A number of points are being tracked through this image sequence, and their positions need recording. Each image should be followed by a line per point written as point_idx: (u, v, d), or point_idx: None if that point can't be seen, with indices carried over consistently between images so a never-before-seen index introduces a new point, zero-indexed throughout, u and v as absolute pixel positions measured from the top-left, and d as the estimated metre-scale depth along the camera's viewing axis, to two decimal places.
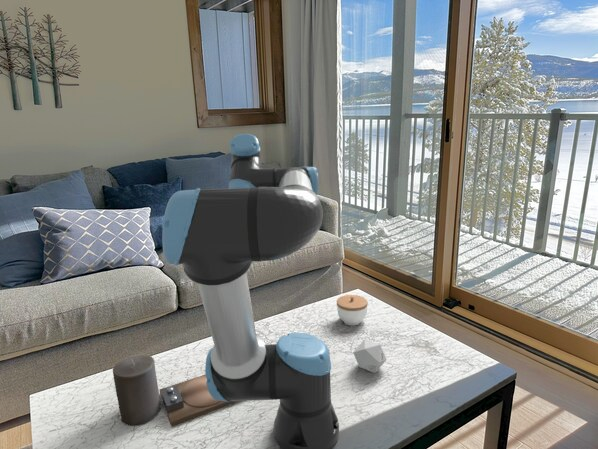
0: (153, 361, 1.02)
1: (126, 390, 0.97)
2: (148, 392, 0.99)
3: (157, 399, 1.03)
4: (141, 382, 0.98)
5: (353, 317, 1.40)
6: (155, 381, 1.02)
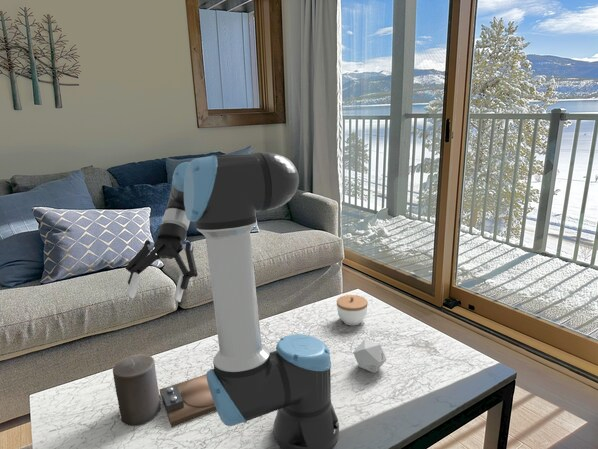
0: (153, 361, 1.02)
1: (126, 390, 0.97)
2: (148, 392, 0.99)
3: (157, 399, 1.03)
4: (141, 382, 0.98)
5: (353, 317, 1.40)
6: (155, 381, 1.02)
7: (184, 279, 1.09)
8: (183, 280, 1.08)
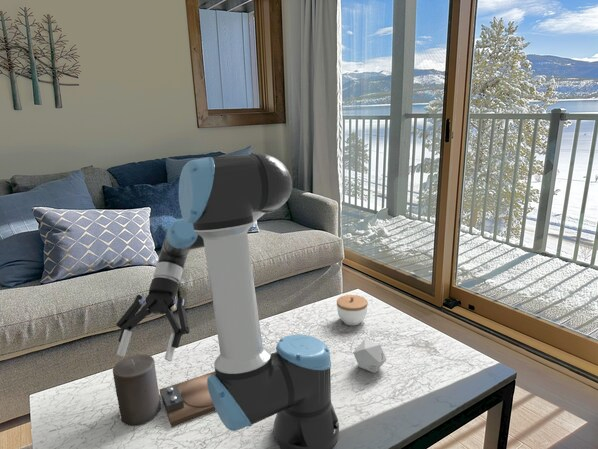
0: (153, 361, 1.02)
1: (126, 390, 0.97)
2: (148, 392, 0.99)
3: (157, 399, 1.03)
4: (141, 382, 0.98)
5: (353, 317, 1.40)
6: (155, 381, 1.02)
7: (175, 337, 1.07)
8: (175, 338, 1.07)
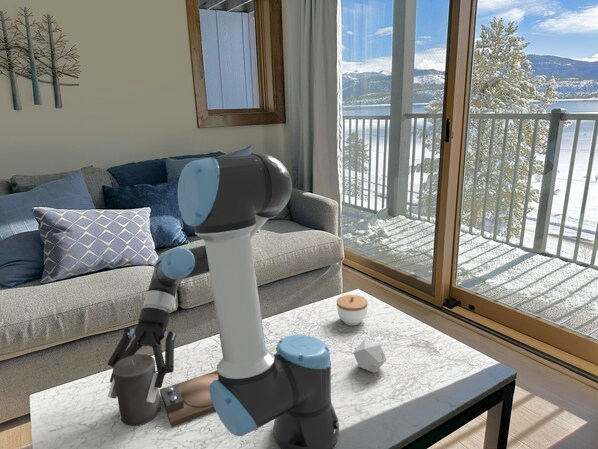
0: (153, 361, 1.02)
1: (126, 390, 0.97)
2: None
3: (157, 399, 1.03)
4: (141, 382, 0.98)
5: (353, 317, 1.40)
6: None
7: (158, 377, 1.01)
8: (157, 378, 1.01)
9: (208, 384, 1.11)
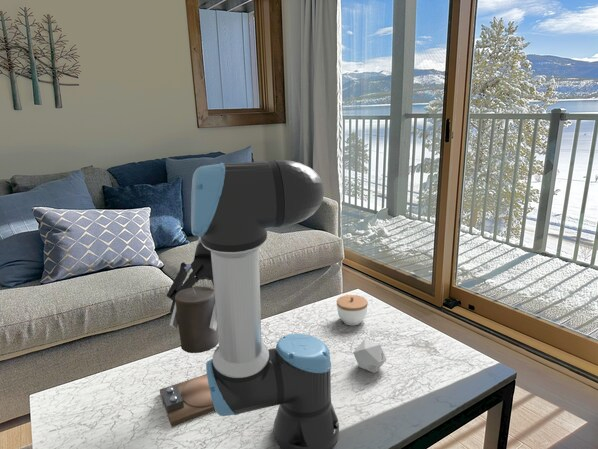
0: (213, 291, 1.03)
1: (190, 316, 0.98)
2: (210, 320, 1.00)
3: (217, 329, 1.04)
4: (204, 308, 0.99)
5: (353, 317, 1.40)
6: None
7: None
8: None
9: (208, 384, 1.11)
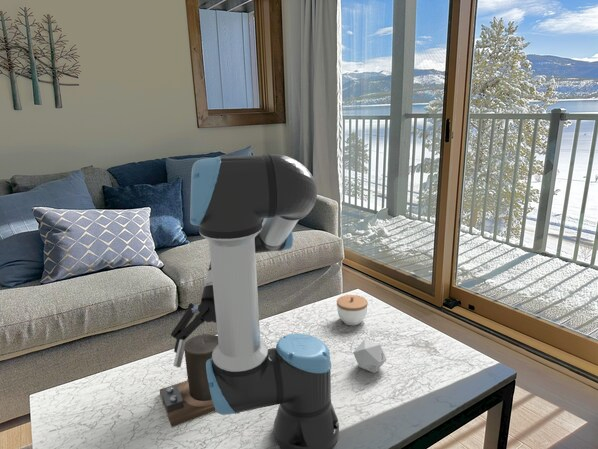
0: None
1: (199, 366, 1.02)
2: None
3: None
4: None
5: (353, 317, 1.40)
6: None
7: None
8: None
9: None
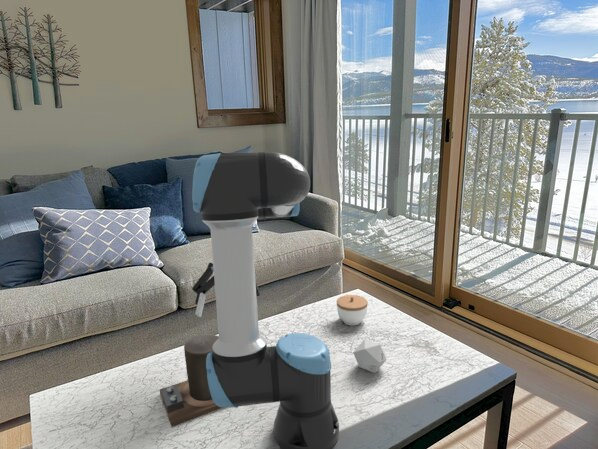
0: None
1: (198, 366, 1.02)
2: None
3: None
4: None
5: (353, 317, 1.40)
6: None
7: None
8: None
9: None
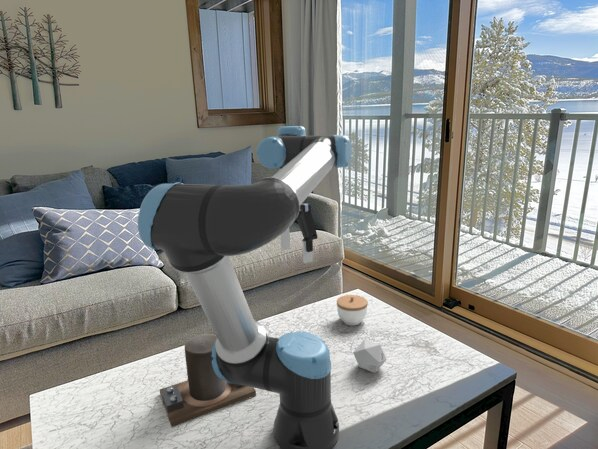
0: None
1: (199, 366, 1.02)
2: None
3: None
4: (212, 359, 1.03)
5: (353, 317, 1.40)
6: None
7: (307, 243, 1.12)
8: (306, 244, 1.12)
9: None
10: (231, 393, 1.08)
